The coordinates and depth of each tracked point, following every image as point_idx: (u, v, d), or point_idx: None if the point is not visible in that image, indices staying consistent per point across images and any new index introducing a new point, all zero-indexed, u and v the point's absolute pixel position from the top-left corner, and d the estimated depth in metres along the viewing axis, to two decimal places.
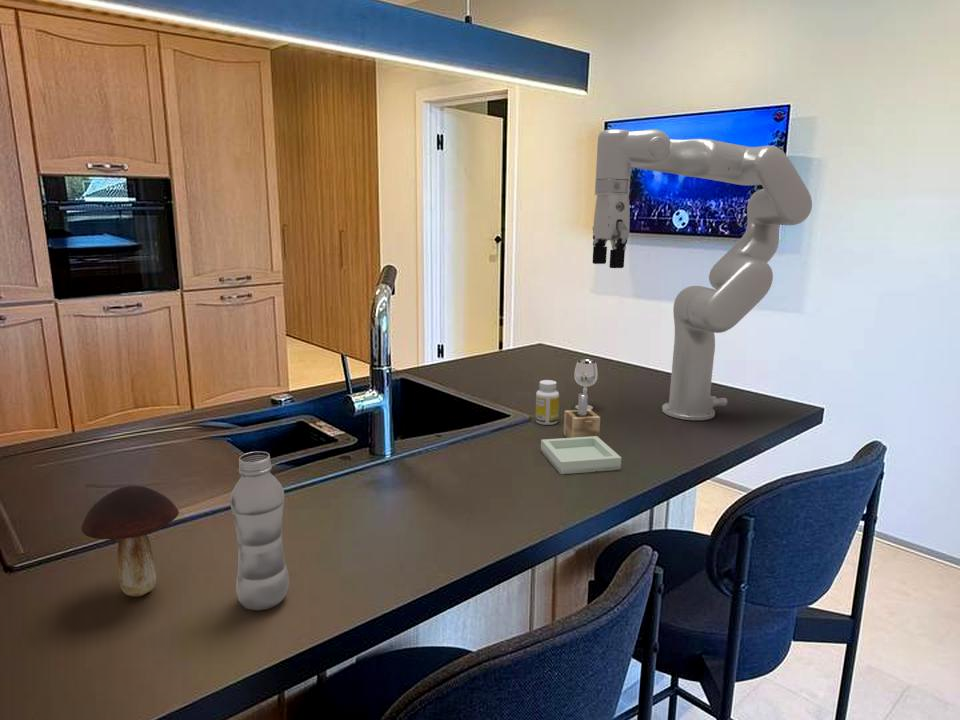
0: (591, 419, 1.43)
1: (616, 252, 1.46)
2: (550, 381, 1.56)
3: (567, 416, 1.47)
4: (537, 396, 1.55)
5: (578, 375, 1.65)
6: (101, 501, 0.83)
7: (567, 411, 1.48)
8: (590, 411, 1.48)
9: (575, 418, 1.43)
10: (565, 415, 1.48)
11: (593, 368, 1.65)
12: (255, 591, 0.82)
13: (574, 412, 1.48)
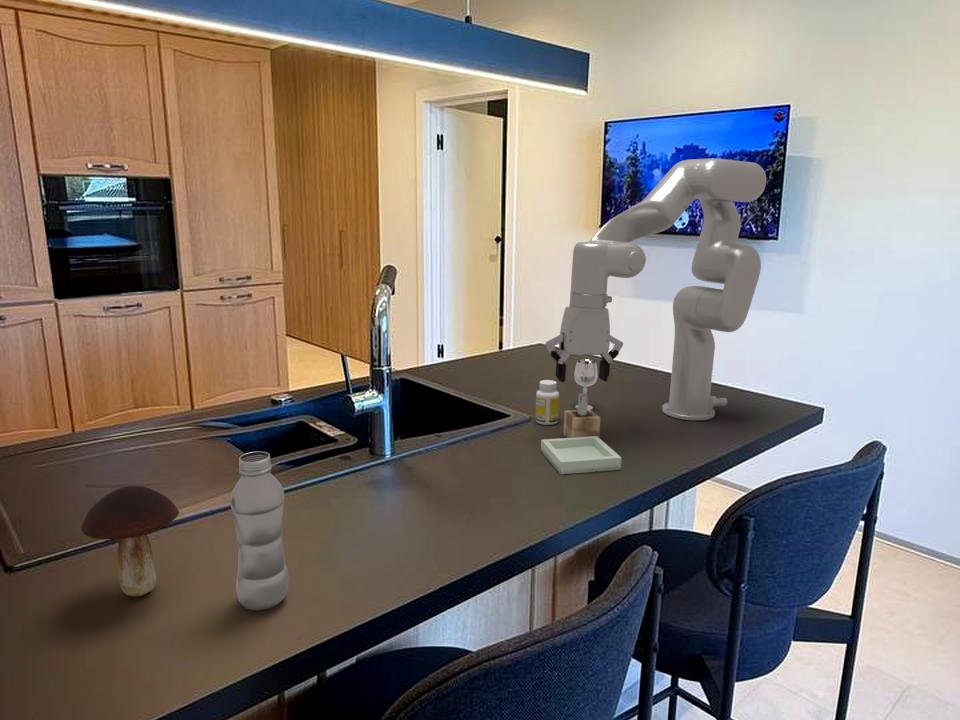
0: (591, 419, 1.43)
1: (609, 364, 1.44)
2: (550, 381, 1.56)
3: (567, 416, 1.47)
4: (537, 396, 1.55)
5: (578, 375, 1.65)
6: (101, 501, 0.83)
7: (567, 411, 1.48)
8: (590, 411, 1.48)
9: (575, 418, 1.43)
10: (565, 415, 1.48)
11: (593, 368, 1.65)
12: (255, 591, 0.82)
13: (574, 412, 1.48)
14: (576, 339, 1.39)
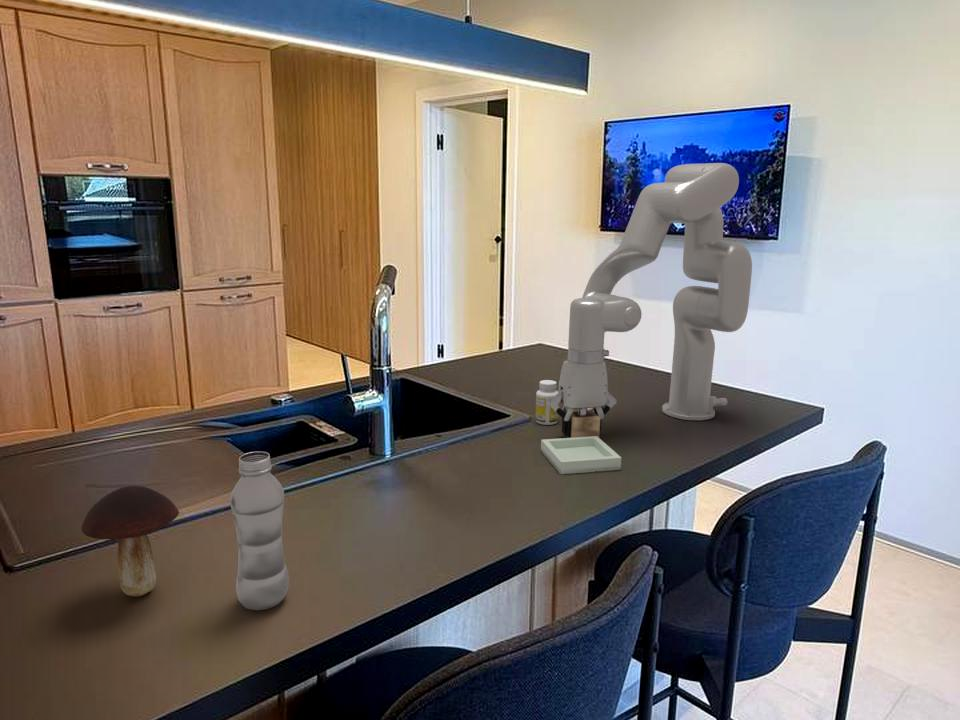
0: (591, 419, 1.43)
1: (601, 420, 1.47)
2: (550, 381, 1.56)
3: None
4: (537, 396, 1.55)
5: None
6: (101, 501, 0.83)
7: None
8: (590, 411, 1.48)
9: (575, 418, 1.43)
10: None
11: None
12: (255, 591, 0.82)
13: (574, 412, 1.48)
14: (574, 393, 1.42)
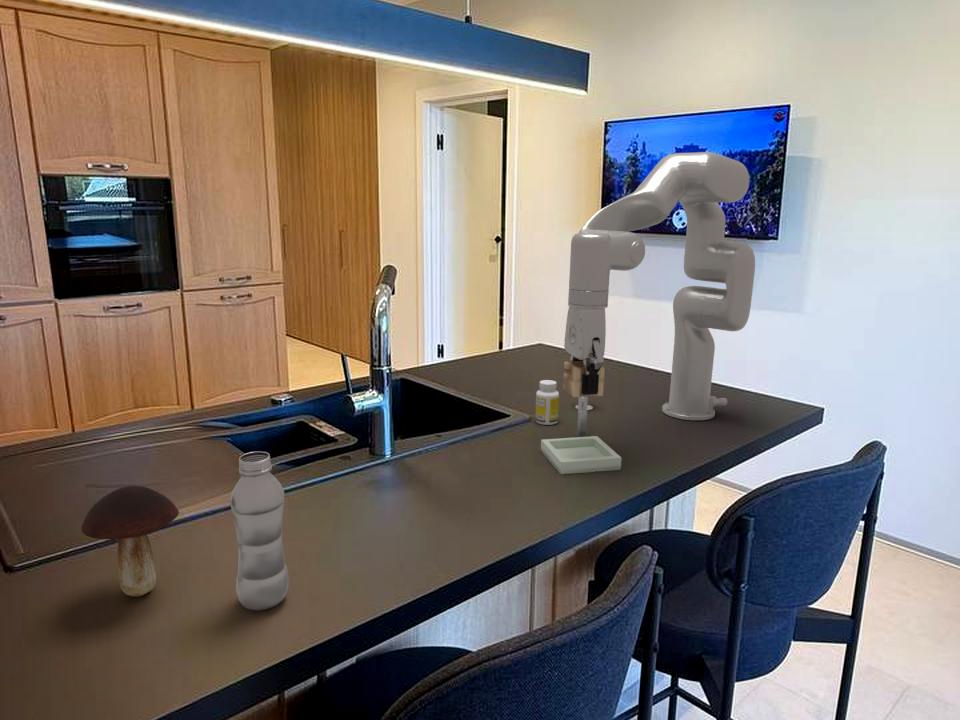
0: None
1: None
2: (550, 381, 1.56)
3: None
4: (537, 396, 1.55)
5: None
6: (101, 501, 0.83)
7: (578, 368, 1.27)
8: (573, 362, 1.32)
9: (601, 367, 1.28)
10: (578, 373, 1.27)
11: None
12: (255, 591, 0.82)
13: None
14: None
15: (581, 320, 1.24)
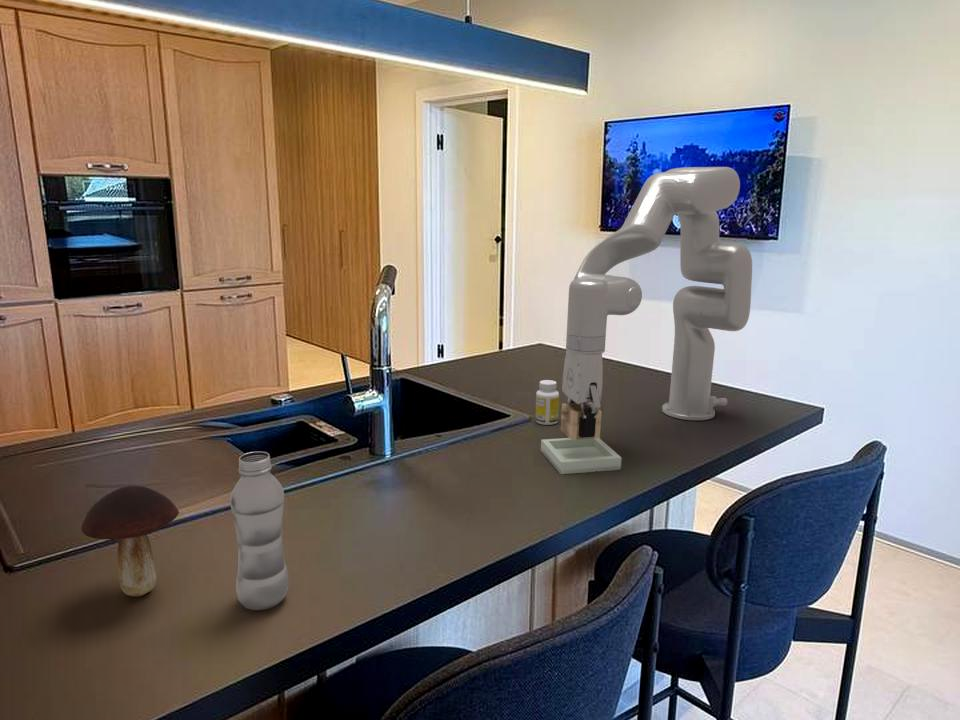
0: None
1: None
2: (550, 381, 1.56)
3: (581, 415, 1.29)
4: (537, 396, 1.55)
5: None
6: (101, 501, 0.83)
7: (575, 411, 1.29)
8: (570, 403, 1.34)
9: (598, 410, 1.30)
10: (575, 416, 1.29)
11: None
12: (255, 591, 0.82)
13: None
14: None
15: (578, 365, 1.26)
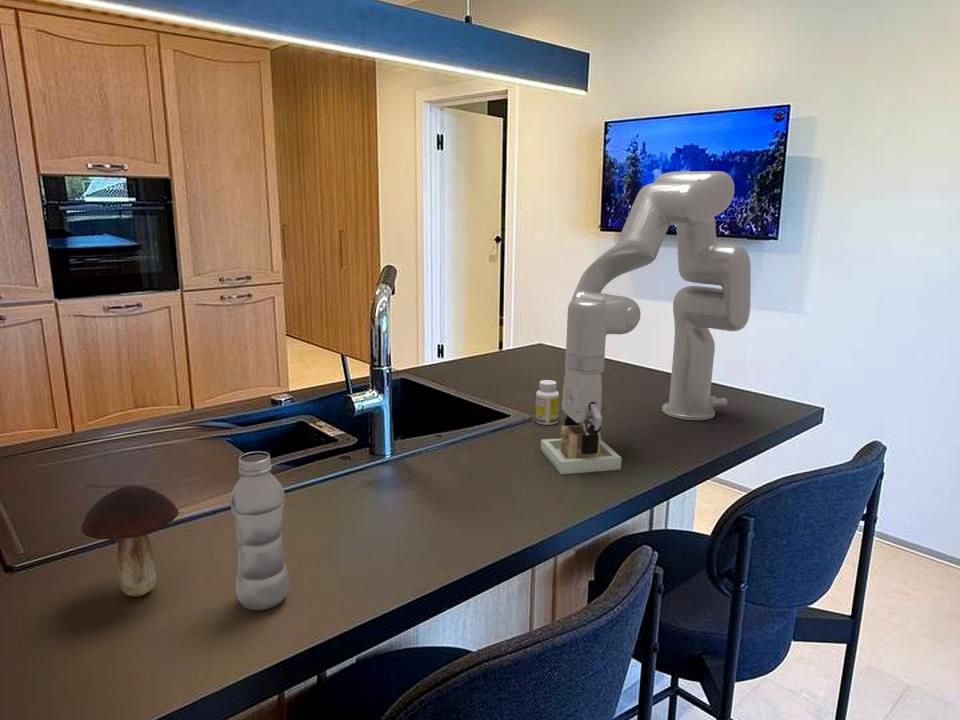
0: None
1: None
2: (550, 381, 1.56)
3: (581, 439, 1.31)
4: (537, 396, 1.55)
5: None
6: (101, 501, 0.83)
7: (574, 435, 1.30)
8: (570, 426, 1.35)
9: None
10: (575, 440, 1.30)
11: None
12: (255, 591, 0.82)
13: (573, 433, 1.32)
14: None
15: (577, 384, 1.27)
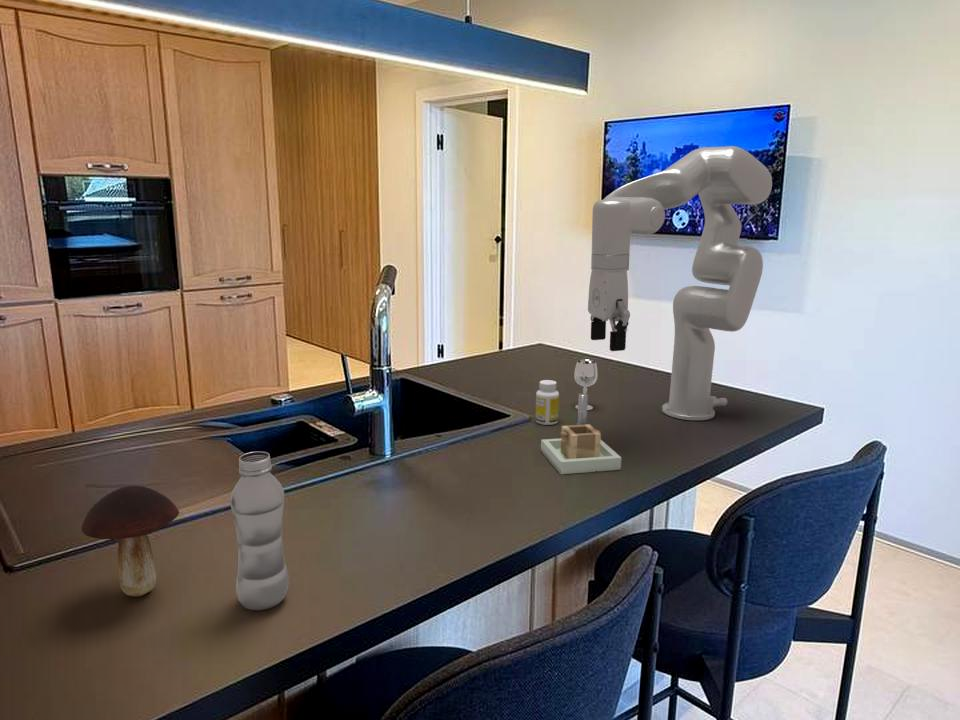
0: None
1: None
2: (550, 381, 1.56)
3: (581, 439, 1.31)
4: (537, 396, 1.55)
5: (578, 375, 1.65)
6: (101, 501, 0.83)
7: (574, 435, 1.30)
8: (570, 426, 1.35)
9: (597, 433, 1.32)
10: (575, 440, 1.30)
11: (593, 368, 1.65)
12: (255, 591, 0.82)
13: (573, 433, 1.32)
14: None
15: (604, 283, 1.32)
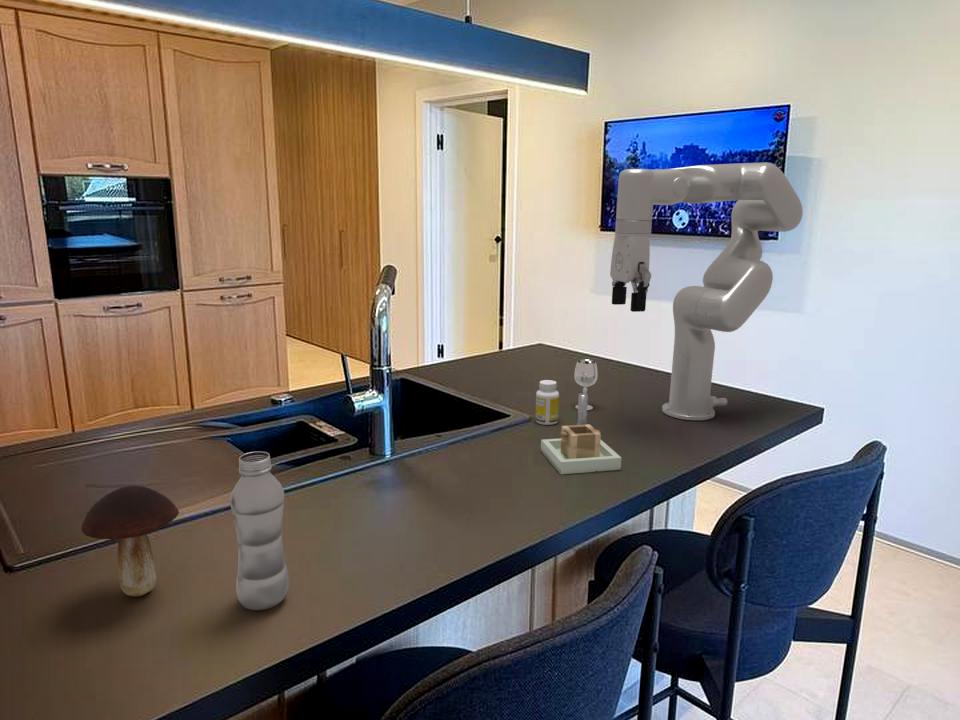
0: None
1: None
2: (550, 381, 1.56)
3: (581, 439, 1.31)
4: (537, 396, 1.55)
5: (578, 375, 1.65)
6: (101, 501, 0.83)
7: (574, 435, 1.30)
8: (570, 426, 1.35)
9: (597, 433, 1.32)
10: (575, 440, 1.30)
11: (593, 368, 1.65)
12: (255, 591, 0.82)
13: (573, 433, 1.32)
14: None
15: (627, 246, 1.40)
